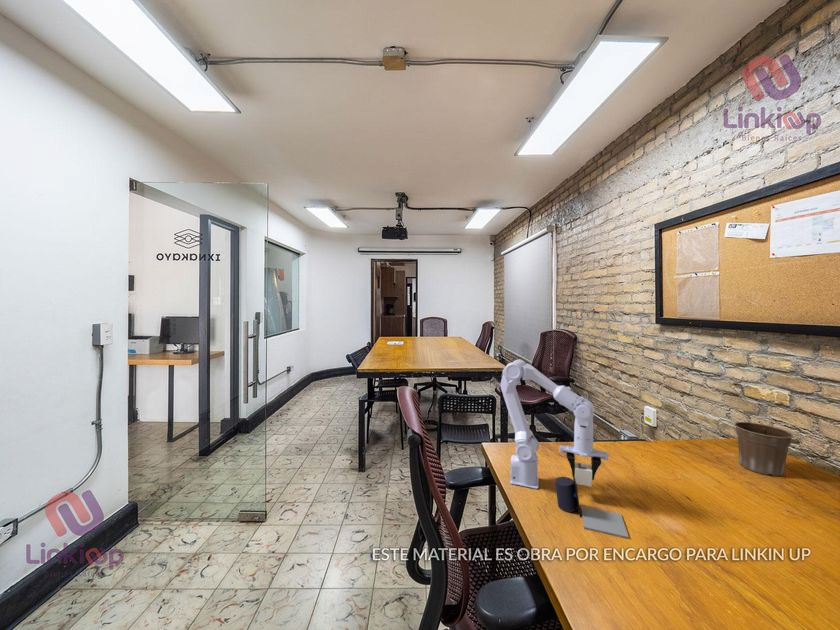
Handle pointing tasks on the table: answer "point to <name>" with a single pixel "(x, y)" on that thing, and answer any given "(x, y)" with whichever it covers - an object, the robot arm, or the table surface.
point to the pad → (603, 521)
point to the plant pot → (763, 447)
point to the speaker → (567, 494)
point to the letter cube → (583, 474)
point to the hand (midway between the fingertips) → (582, 477)
